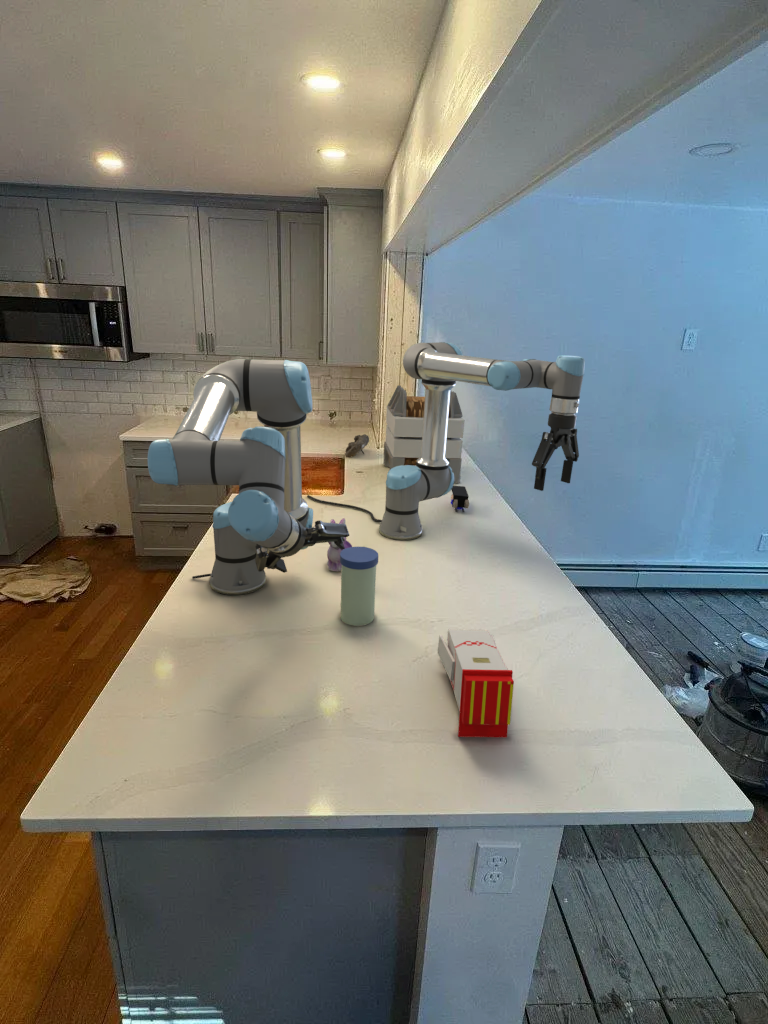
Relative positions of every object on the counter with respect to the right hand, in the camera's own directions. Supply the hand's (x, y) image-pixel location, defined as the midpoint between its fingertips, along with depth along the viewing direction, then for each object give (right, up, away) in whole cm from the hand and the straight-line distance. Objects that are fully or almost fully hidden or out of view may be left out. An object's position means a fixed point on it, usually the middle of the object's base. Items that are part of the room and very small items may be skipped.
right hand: (552, 485), depth 166 cm
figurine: (-63, -24, +8) cm, 68 cm away
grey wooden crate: (-32, +11, +109) cm, 115 cm away
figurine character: (-19, -6, +63) cm, 66 cm away
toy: (-31, -45, -47) cm, 72 cm away
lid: (-55, -18, -26) cm, 64 cm away
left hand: (-65, -17, -42) cm, 79 cm away
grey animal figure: (-64, +24, +140) cm, 156 cm away
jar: (-56, -35, -20) cm, 69 cm away
